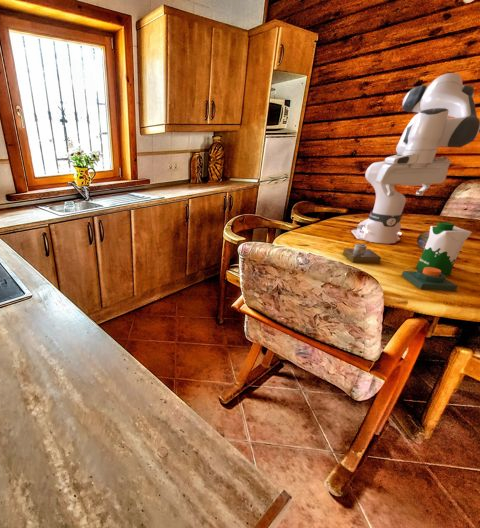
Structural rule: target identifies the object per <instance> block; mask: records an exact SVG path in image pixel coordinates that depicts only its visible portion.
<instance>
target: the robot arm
mask: <svg viewBox="0 0 480 528" xmlns="http://www.w3.org/2000/svg"><path fill="white" fill-rule="evenodd" d="M474 95H475V88H474V86H471V85H466V84H464V85H463V78H462V76H461V75H460V74H458V73H456V72H448V73H444V74H441V75H439V76H438V77H436V78H435V79H434V80H432V82H430V83H429V85H428V84H427V85H425V84H421V85H418V86H414V87H413V88H411V89H410V90H409V91H408V92H407V93H406V95H405V96H404V97H403V99H402V102H401V106H402V107H401V109H402V110H403V111H404V112H408V113H417V114H415V115H413V117H412V118H411V119H410V121H409V122H408V124H407V125H406V127H405V128H404V130H403V132H402V134H401V136H400V139H399V141H398V143H397V144H396V147H395V153H396V154H394V155H390V156H387V157H386V158H384V161H376V162H373V163H371V164H370V165H369V166H368V167H367V169H366V170H365V174H364V176H365V180H366V181H367V182H368V183H369V184H370V185H371V186H372V188H373V189H374V192H375V201H374V205H373V209H372V211H370V212H369V215H368V217H367V218H366V219H365V220H360V221H359V223H358V224H357V226H356V228H355V229H352V230H351V231H350V232H351V234H353V236H354V237H355V239H356V240H361V241H366V242H370V243H374V244H375V243H376V244H387V245H388V244H395V243H397V242H399V241H401V238H400V237H399V236H400V235H402V232H401V229H402V228H401V227H402V224H401V223H400V222H401V220H402V218H403V211H404V208H405V205H406V203H407V198H406V196H405V195H404V194H403V193H401V192H399V191H397V190H396V189H395V186H405V187H420V186H421V188H420V189H417V190H416V192H415V196H419V197H420V196H423V195H424V193H425V191H427V190H428V189H429V188H430V187H431V185H432V184H442V183H443V182H445V181H446V179H447V176H448V171H449V167H450V164H451V159H450V158H448V157H447V156H442V157H441V156H440V157H436V154H437V151H438V149H439V148H459V149H461V148H462V147H465V146H467V145H469V144H470V143H472V142H474V141H475V139H476V137H478V134H479V132H480V118H478V115H477V110H476V104H475V101H474Z"/></svg>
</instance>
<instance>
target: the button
mask: <svg viewBox="0 0 480 528" xmlns="http://www.w3.org/2000/svg"><path fill="white" fill-rule="evenodd" d="M422 273H423V274H426V275H429V276H436V277H439V276H440V273H441V270H439V269H437V268H433V267H425V268H424V269H423V272H422Z"/></svg>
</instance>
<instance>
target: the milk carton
mask: <svg viewBox="0 0 480 528" xmlns="http://www.w3.org/2000/svg"><path fill="white" fill-rule="evenodd" d="M429 232H430V233H429V238H428V241H427V243H426V246H425V248H424V249H423V251H422V253H421V256H420V258H419V260H418V262H417V264H416V266H415V269H416V270H420V269H424V268H425V267H433V268H437V269H439V270H441V273H442V274H444V275H445V277H450V276H451V274H452V271H453V269H454V265H455V263H456V261H457V258H458V256H459V254H460V252H461V250H462V248H463V246H464V244H465V242H466V241H467V239H468V238H469V237H470V236H471V234H472V233H473V231H471V230H467V229H464V228H461V227H458V226H456V225H455V223H453V222H446V221H439V222H437V225H430V226H429Z"/></svg>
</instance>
